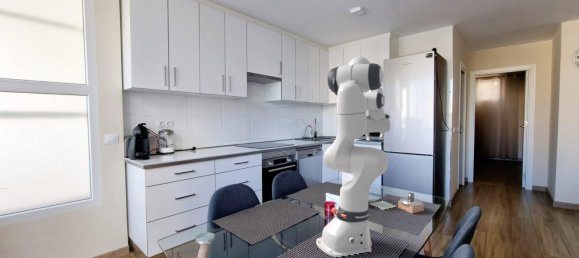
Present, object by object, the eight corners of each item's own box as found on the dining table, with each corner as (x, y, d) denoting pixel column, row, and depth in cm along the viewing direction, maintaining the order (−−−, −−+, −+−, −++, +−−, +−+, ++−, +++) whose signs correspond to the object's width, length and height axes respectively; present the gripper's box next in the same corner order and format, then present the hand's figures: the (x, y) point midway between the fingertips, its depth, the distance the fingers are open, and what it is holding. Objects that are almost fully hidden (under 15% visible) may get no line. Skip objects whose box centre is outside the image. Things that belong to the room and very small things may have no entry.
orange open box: (412, 213, 132) (412, 206, 132) (397, 208, 140) (398, 201, 140) (423, 211, 136) (423, 203, 136) (409, 205, 144) (409, 198, 144)
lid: (413, 207, 131) (413, 197, 130) (395, 201, 140) (395, 192, 140) (427, 204, 136) (427, 194, 135) (409, 198, 145) (409, 189, 145)
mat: (383, 210, 138) (383, 209, 138) (369, 204, 147) (369, 203, 147) (396, 207, 142) (396, 206, 142) (382, 201, 151) (382, 200, 151)
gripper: (364, 115, 138) (364, 141, 139) (392, 115, 147) (391, 139, 148) (357, 115, 144) (356, 140, 144) (383, 115, 152) (383, 138, 153)
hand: (374, 140), depth 146 cm, fingers open, 8 cm apart
